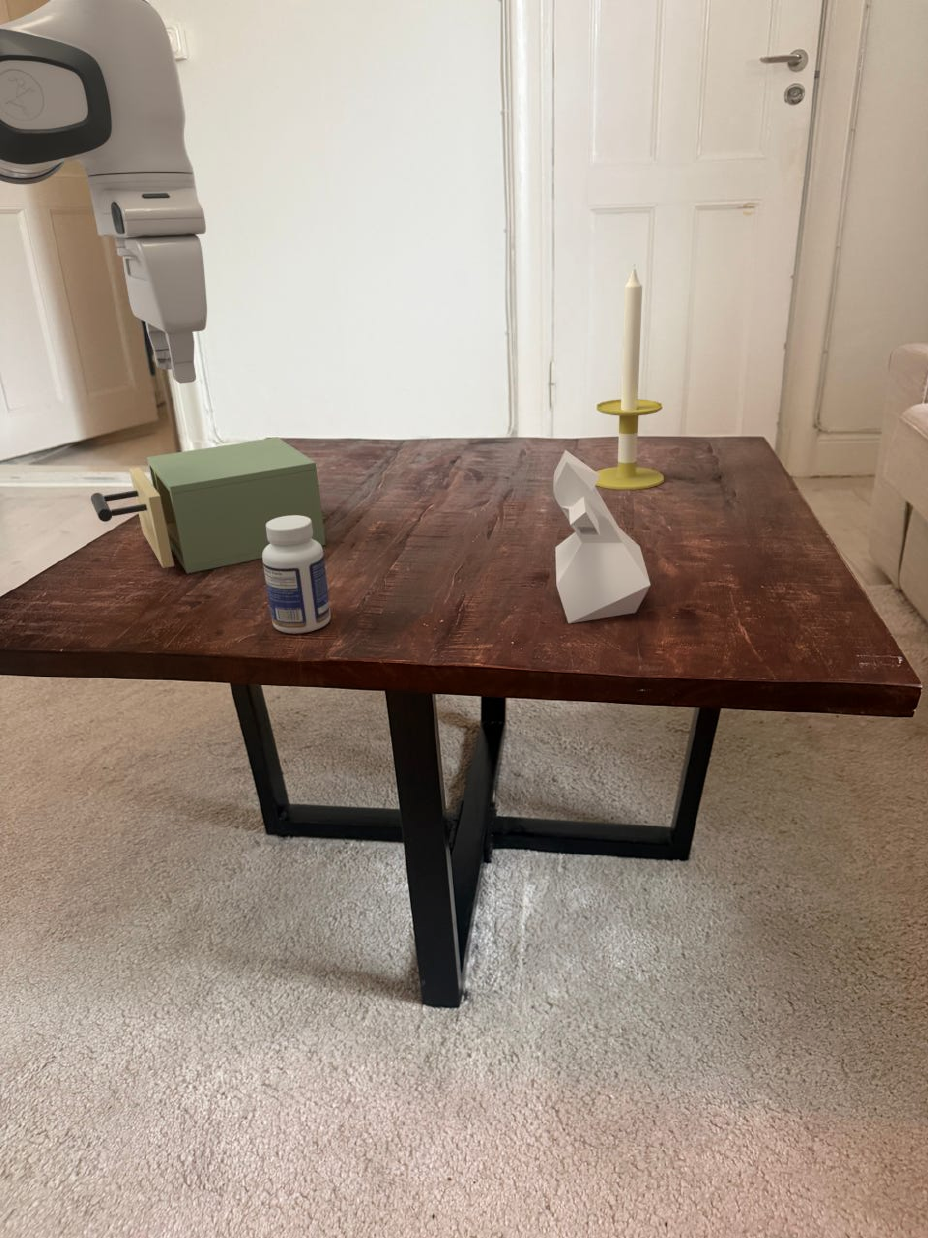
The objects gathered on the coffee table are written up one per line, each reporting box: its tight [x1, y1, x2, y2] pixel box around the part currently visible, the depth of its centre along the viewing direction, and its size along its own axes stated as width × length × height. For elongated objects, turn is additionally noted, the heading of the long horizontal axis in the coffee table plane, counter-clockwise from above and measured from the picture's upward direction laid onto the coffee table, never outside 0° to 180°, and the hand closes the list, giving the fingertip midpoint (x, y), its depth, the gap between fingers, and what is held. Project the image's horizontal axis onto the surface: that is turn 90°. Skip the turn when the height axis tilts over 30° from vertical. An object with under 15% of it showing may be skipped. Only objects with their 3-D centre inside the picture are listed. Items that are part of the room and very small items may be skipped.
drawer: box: [90, 466, 182, 569], centre depth 97 cm, size 19×13×8 cm
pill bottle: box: [261, 515, 332, 635], centre depth 77 cm, size 5×5×10 cm
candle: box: [595, 263, 665, 491], centre depth 111 cm, size 10×10×27 cm
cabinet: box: [146, 437, 326, 574], centre depth 99 cm, size 16×15×10 cm
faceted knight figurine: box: [552, 449, 651, 624], centre depth 79 cm, size 8×14×14 cm, turn 175°
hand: (175, 375), depth 81 cm, fingers open, 8 cm apart
